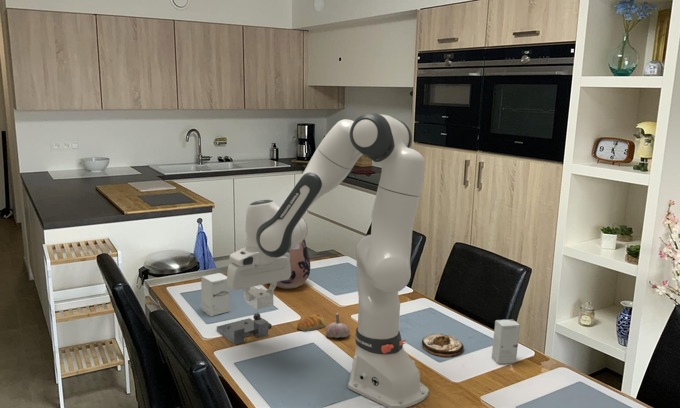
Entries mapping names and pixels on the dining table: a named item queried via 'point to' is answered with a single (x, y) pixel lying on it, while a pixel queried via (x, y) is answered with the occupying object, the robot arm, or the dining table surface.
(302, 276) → the ceramic pitcher
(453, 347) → the brown flat two-tone disc
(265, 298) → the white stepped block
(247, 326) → the gunmetal leaf
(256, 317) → the hinge pin
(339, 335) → the garlic bulb
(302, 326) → the pastry
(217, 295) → the supplement box
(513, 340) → the skincare box
